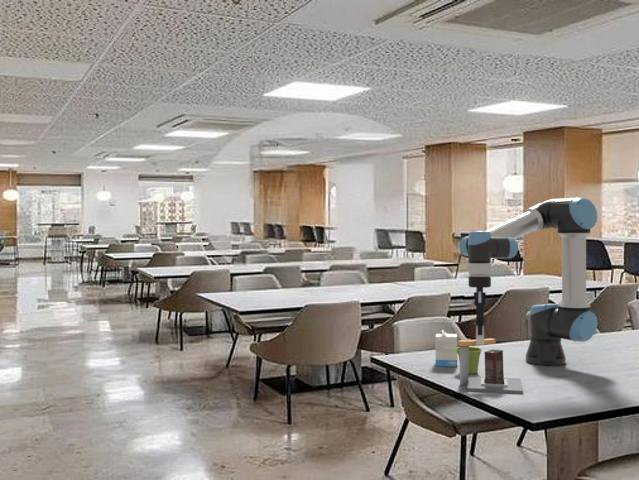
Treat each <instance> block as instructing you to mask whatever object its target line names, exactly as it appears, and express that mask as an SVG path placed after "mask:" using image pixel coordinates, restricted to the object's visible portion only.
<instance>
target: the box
mask: <svg viewBox="0 0 639 480" xmlns="http://www.w3.org/2000/svg"><path fill="white" fill-rule="evenodd" d="M504 375H505V374H504V350H502V349H489V350H487V351H484V377H485V383H487V384H504V378H505V377H504Z"/></svg>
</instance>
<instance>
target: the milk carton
mask: <svg viewBox="0 0 639 480" xmlns="http://www.w3.org/2000/svg"><path fill="white" fill-rule="evenodd" d="M434 336H435V339H434V340H435V342H434V343H435V367H442V368H443V367H445V368H446V367H447V368H448V367H450V368H455V367H456V368H457V367H458V353H457V350H456V348H458V333H447V332H446V331H445V330H444V329H442V330H441V333H436V334H435V335H434Z"/></svg>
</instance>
